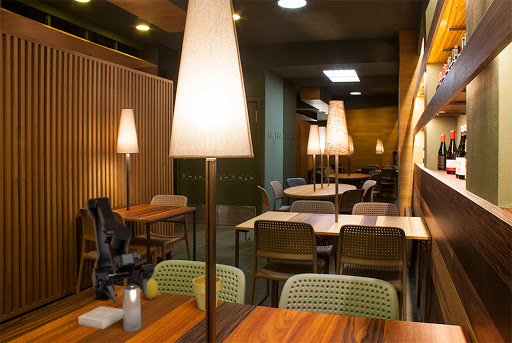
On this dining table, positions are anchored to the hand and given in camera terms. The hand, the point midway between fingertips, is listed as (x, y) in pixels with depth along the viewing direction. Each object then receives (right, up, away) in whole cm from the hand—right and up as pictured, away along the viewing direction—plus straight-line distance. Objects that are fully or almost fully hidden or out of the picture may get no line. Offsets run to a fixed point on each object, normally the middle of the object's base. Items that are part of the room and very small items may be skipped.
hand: (130, 299), depth 127 cm
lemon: (0, -8, +25) cm, 26 cm away
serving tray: (-11, -9, +5) cm, 15 cm away
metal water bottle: (+1, -9, 0) cm, 9 cm away
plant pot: (+22, -8, +16) cm, 28 cm away
